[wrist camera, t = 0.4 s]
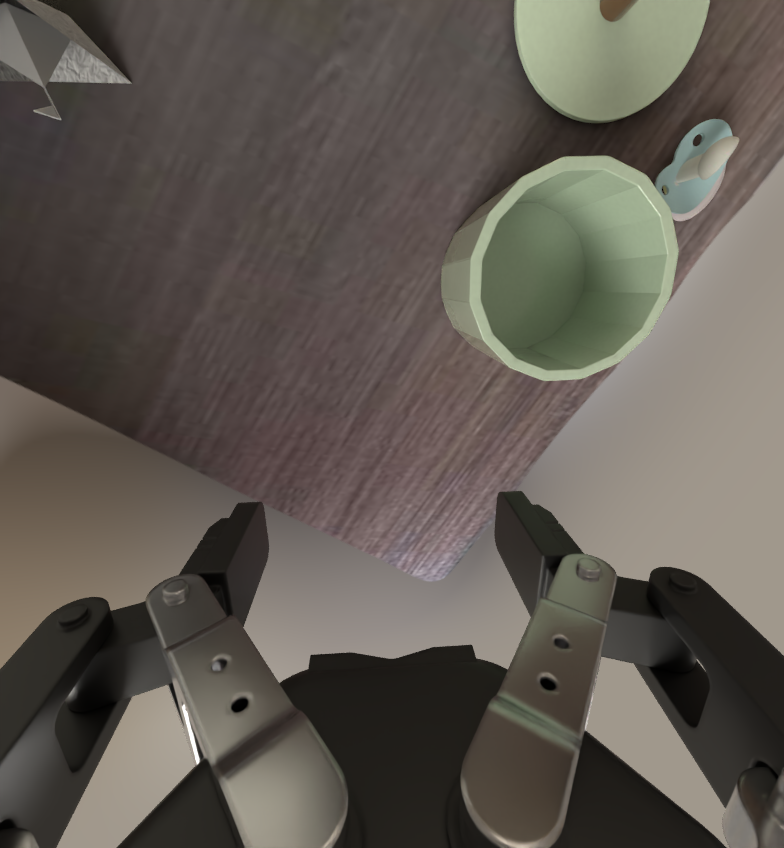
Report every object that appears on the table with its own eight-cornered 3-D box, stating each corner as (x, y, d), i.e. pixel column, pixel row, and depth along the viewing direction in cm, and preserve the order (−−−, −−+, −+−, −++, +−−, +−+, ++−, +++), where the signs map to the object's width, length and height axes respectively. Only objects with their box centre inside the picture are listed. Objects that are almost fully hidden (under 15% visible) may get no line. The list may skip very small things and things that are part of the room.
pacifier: (734, 159, 37) (687, 119, 35) (806, 135, 31) (754, 86, 29) (680, 236, 38) (634, 201, 37) (739, 229, 33) (686, 187, 31)
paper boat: (85, -45, 29) (145, 78, 29) (102, 45, 34) (152, 146, 35) (-156, -74, 23) (-77, 78, 24) (-88, 39, 29) (-25, 160, 29)
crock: (441, 196, 36) (473, 157, 25) (599, 192, 37) (697, 153, 26) (440, 358, 41) (467, 384, 30) (580, 352, 41) (657, 376, 30)
